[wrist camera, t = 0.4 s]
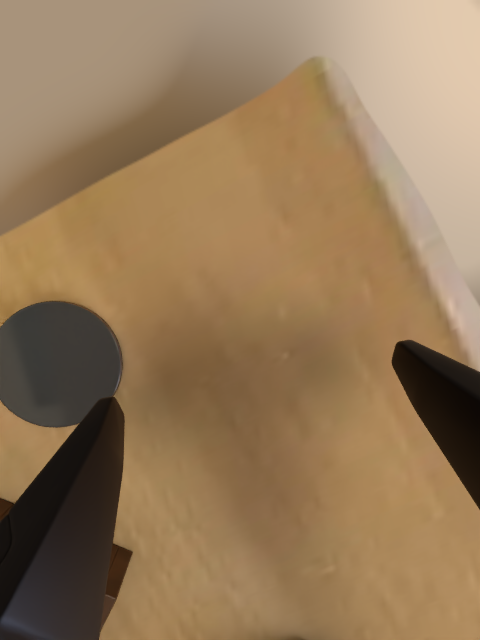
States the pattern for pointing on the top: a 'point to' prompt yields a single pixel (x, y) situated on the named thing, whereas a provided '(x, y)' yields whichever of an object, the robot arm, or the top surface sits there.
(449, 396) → the robot arm
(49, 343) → the coaster
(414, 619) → the top surface
